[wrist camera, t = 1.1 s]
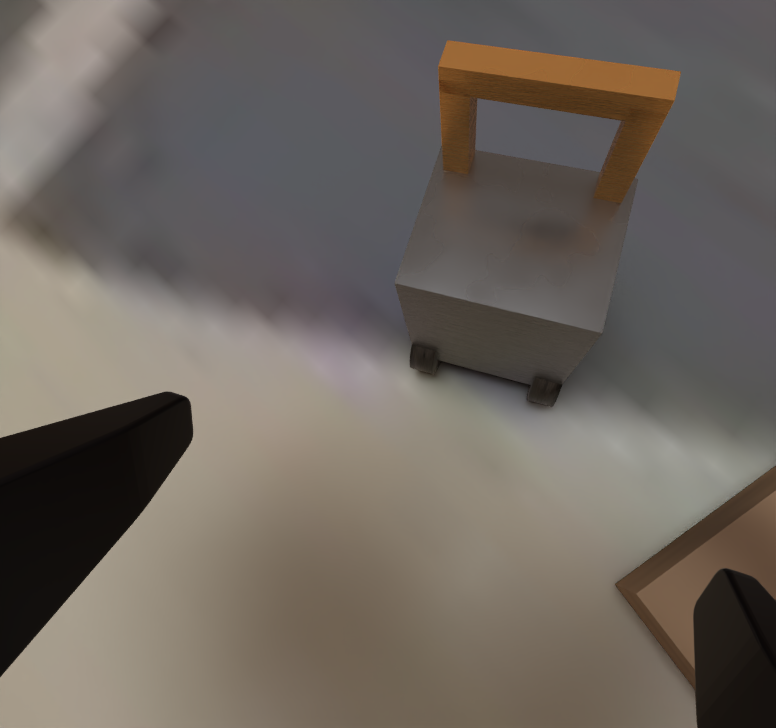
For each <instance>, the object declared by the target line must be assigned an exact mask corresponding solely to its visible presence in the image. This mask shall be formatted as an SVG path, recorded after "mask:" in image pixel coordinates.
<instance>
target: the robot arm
mask: <svg viewBox="0 0 776 728" xmlns="http://www.w3.org/2000/svg"><path fill="white" fill-rule="evenodd" d="M192 437H193V423H192V412H191V403H190V401H189V399H188V398H187V397H185V396H182V395H179V394H176V393H173V392H162V393H159V394H155V395H152V396H148V397H145V398H141V399H137V400H134V401H130V402H127V403H123V404H120V405H116V406H113V407H109V408H105V409H102V410H98V411H95V412H91V413H88V414H84V415H80V416H77V417H73V418H70V419H66V420H63V421H59V422H56V423H52V424H48V425H45V426H41V427H38V428H34V429H31V430H27V431H24V432H20V433H16V434H13V435H9V436H6V437H2V438H0V677H1V676H2V675H3V673H4V672H5V671H6V670H7V669H8V668H9V666H10V665H11V664H12V663H13V662H14V661H15V659H16V658H17V657H18V656H19V655H20V654H21V653H22V651H23V650H24V649H25V648H26V647H27V646H28V644H29V643H30V642H31V641H32V640H33V639H34V637H35V636H36V635H37V634H38V633H39V632H40V630H41V629H42V628H43V627H44V626H45V625H46V623H47V622H48V621H49V620H50V619H51V618H52V617H53V615H54V614H55V613H56V612H57V611H58V610H59V608H60V607H61V606H62V605H63V604H64V603H65V601H66V600H67V599H68V598H69V597H70V596H71V594H72V593H73V592H74V591H75V590H76V589H77V587H78V586H79V585H80V584H81V583H82V582H83V581H84V579H85V578H86V577H87V576H88V575H89V574H90V572H91V571H92V570H93V569H94V568H95V567H96V565H97V564H98V563H99V562H100V561H101V560H102V558H103V557H104V556H105V555H106V554H107V553H108V551H109V550H110V549H111V548H112V547H113V546H114V545H115V543H116V542H117V541H118V540H119V539H120V538H121V536H122V535H123V534H124V533H125V532H126V531H127V529H128V528H129V527H130V526H131V525H132V524H133V522H134V521H135V520H136V519H137V518H138V516H139V515H140V514H141V513H142V511H143V510H144V509H145V507H146V506H147V505H148V503H149V502H150V501H151V499H152V498H153V497H154V495H155V494H156V492H157V491H158V489H159V488H160V487H161V485H162V484H163V482H164V481H165V479H166V478H167V477H168V475H169V474H170V472H171V471H172V469H173V468H174V467H175V465H176V464H177V462H178V461H179V459H180V458H181V457H182V455H183V454H184V452H185V451H186V449H187V448H188V447H189V445H190V443H191V441H192ZM693 630H694V662H695V694H696V715H697V727H698V728H776V600H775V599H774V598H773V597H772V596H771V595H770V593H769V592H768V591H767V590H766V589H765V588H764V587H763V586H762V585H761V583H760V582H759V581H758V580H757V579H755V578H754V577H752V576H750V575H747V574H744V573H741V572H738V571H735V570H732V569H728V568H722V569H720V570H718V571H717V572H716V573H715V575H714V576H713V578H712V579H711V581H710V582H709V584H708V585H707V586H706V588H705V589H704V591H703V592H702V594H701V595H700V597H699V598H698V600H697V601H696V604H695V607H694V612H693Z"/></svg>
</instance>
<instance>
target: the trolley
mask: <svg viewBox="0 0 776 728" xmlns="http://www.w3.org/2000/svg"><path fill="white" fill-rule="evenodd" d="M438 71H439V92H440V113H441V134H442V146H441V149H440V152H439V155H438V158H437V161H436V164H435V167H434V169H433V172H432V175H431V178H430V181H429V184H428V187H427V190H426V193H425V196H424V199H423V202H422V204H421V207H420V210H419V213H418V216H417V219H416V222H415V225H414V228H413V231H412V234H411V237H410V239H409V242H408V245H407V248H406V251H405V254H404V257H403V260H402V263H401V266H400V269H399V272H398V274H397V277H396V280H395V286H396V290H397V294H398V297H399V301H400V304H401V308H402V311H403V315H404V318H405V322H406V326H407V329H408V333H409V336H410V340H411V343H412V347H411V353H410V367H411V368H413V369H417V370H420V371H424V372H428V373H431V374H435V373H436V371H437V369H438V367H439V364H440V361H444V362H447V363H451V364H455V365H458V366H462V367H466V368H469V369H473V370H477V371H481V372H484V373H488V374H492V375H495V376H499V377H503V378H507V379H510V380H514V381H518V382H521V383H525V384H529V389H528V394H527V400H529V401H533V402H536V403H540V404H543V405H547V406H551V407H552V406H553V405H554V404H555V402H556V400H557V397H558V395H559V392H560V389H561V387H562V384H563V383H564V382H565V380H566V379H567V378H568V377H569V375H570V374H571V373H572V371H573V370H574V369H575V368H576V366H577V365H578V364H579V363H580V361H581V360H582V359H583V357H584V356H585V355H586V354H587V352H588V351H589V350H590V348H591V347H592V346H593V345H594V343H595V342H596V341H597V340H598V338H599V337H600V336H601V334H602V333H603V329H604V324H605V320H606V316H607V311H608V307H609V303H610V298H611V294H612V290H613V285H614V281H615V277H616V272H617V268H618V264H619V260H620V255H621V251H622V247H623V242H624V238H625V234H626V229H627V225H628V221H629V216H630V212H631V208H632V204H633V199H634V195H635V191H636V186H637V182H638V179H635V176H636V174H637V172H638V170H639V168H640V166H641V164H642V162H643V160H644V159H645V157H646V155H647V153H648V151H649V149H650V147H651V145H652V143H653V141H654V139H655V137H656V135H657V133H658V131H659V130H660V128H661V126H662V124H663V122H664V120H665V118H666V116H667V114H668V112H669V110H670V108H671V106H672V104H673V102H674V101H675V96H676V92H677V87H678V83H679V78H680V74H681V72H680V71H672V70H665V69H657V68H650V67H642V66H635V65H627V64H620V63H612V62H605V61H597V60H590V59H582V58H575V57H567V56H560V55H553V54H545V53H538V52H530V51H523V50H515V49H508V48H500V47H493V46H485V45H478V44H470V43H463V42H455V41H447V43H446V46H445V49H444V52H443V54H442V57H441V60H440V63H439V66H438ZM477 98H480V99H487V100H493V101H500V102H506V103H512V104H519V105H525V106H532V107H538V108H544V109H551V110H557V111H564V112H570V113H576V114H583V115H589V116H596V117H602V118H609V119H615V120H621V123H620V125H619V128H618V130H617V133H616V135H615V137H614V140H613V142H612V145H611V147H610V150H609V152H608V155H607V157H606V159H605V162H604V164H603V167H602V169H601V172H595V171H590V170H584V169H578V168H573V167H567V166H561V165H556V164H550V163H545V162H539V161H533V160H528V159H522V158H516V157H511V156H505V155H500V154H494V153H488V152H483V151H477V150H475V139H476V115H477Z"/></svg>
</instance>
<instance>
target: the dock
mask: <svg viewBox="0 0 776 728" xmlns="http://www.w3.org/2000/svg"><path fill="white" fill-rule="evenodd" d="M722 568H728V569H732V570H735V571H738V572H741V573H744V574H747V575H750V576H752V577H754V578H755V579H757V580H758V581H759V582H760V583H761V585H762V586H763V587H764V588H765V589H766V590H767V591H768V592H769V593H770V595H771V596H772V597H773V598H774V599H775V600H776V466H775V467H773V468H772V469H771V470H769V471H768V472H767V473H765V474H764V475H763V476H761V477H760V478H758V479H757V480H756V481H754V482H753V483H752V484H750V485H749V486H748V487H746V488H745V489H744V490H742V491H741V492H739V493H738V494H737V495H735V496H734V497H733V498H731V499H730V500H729V501H727V502H726V503H725V504H723V505H722V506H720V507H719V508H718V509H716V510H715V511H714V512H712V513H711V514H710V515H708V516H707V517H706V518H704V519H703V520H701V521H700V522H699V523H697V524H696V525H695V526H693V527H692V528H691V529H689V530H688V531H687V532H685V533H684V534H683V535H681V536H680V537H678V538H677V539H676V540H674V541H673V542H672V543H670V544H669V545H668V546H666V547H665V548H664V549H662V550H661V551H659V552H658V553H657V554H655V555H654V556H653V557H651V558H650V559H649V560H647V561H646V562H645V563H643V564H642V565H640V566H639V567H638V568H636V569H635V570H634V571H632V572H631V573H630V574H628V575H627V576H626V577H624V578H623V579H621V580H620V581H619V582H617V583H616V584H615V585H616V586H617V588H618V589H619V590H620V592H621V593H622V594H623V596H624V597H625V598H626V599H627V601H628V602H629V603H630V605H631V606H632V607H633V609H634V610H635V611H636V613H637V614H638V615H639V617H640V618H641V619H642V621H643V622H644V623H645V624H646V626H647V627H648V628H649V630H650V631H651V632H652V634H653V635H654V636H655V638H656V639H657V640H658V642H659V643H660V644H661V645H662V647H663V648H664V649H665V651H666V652H667V653H668V655H669V656H670V657H671V659H672V660H673V661H674V663H675V664H676V665H677V667H678V668H679V669H680V670H681V672H682V673H683V674H684V676H685V677H686V678H687V680H688V681H689V682H690V684H691V685H692V686H693V688H694V689H695V662H694V630H693V612H694V607H695V604H696V601H697V600H698V598H699V597H700V595H701V594H702V592H703V591H704V589H705V588H706V586H707V585H708V584H709V582H710V581H711V579H712V578H713V576H714V575H715V573H716V572H717V571H718V570H720V569H722Z"/></svg>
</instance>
